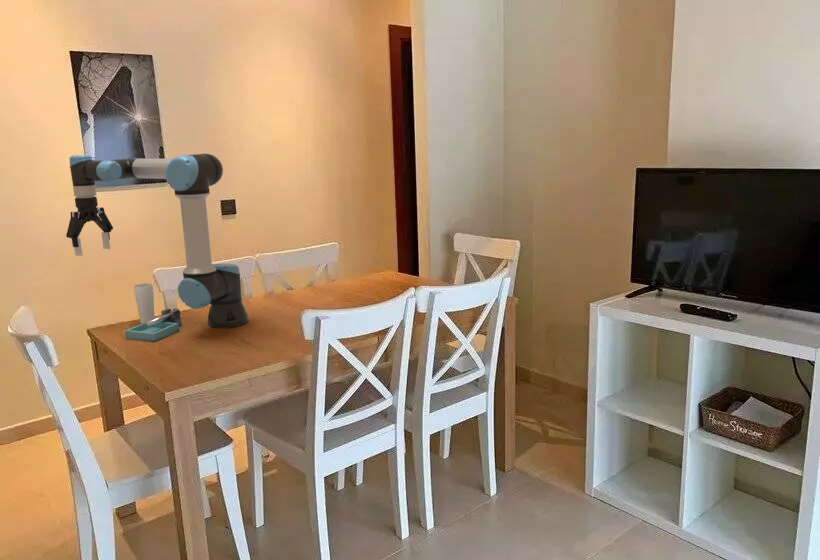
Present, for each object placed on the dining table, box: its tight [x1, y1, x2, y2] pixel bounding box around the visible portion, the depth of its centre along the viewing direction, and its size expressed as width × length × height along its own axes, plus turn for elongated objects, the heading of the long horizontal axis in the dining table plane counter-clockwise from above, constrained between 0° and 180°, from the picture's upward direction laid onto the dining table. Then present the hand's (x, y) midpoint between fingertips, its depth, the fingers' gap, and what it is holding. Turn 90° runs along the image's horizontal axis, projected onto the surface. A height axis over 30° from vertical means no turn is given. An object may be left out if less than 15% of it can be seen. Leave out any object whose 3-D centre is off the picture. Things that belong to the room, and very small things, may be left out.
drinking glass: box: [133, 282, 155, 324], centre depth 249 cm, size 7×7×15 cm
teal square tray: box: [124, 320, 180, 343], centre depth 235 cm, size 13×13×3 cm
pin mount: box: [160, 307, 182, 328], centre depth 244 cm, size 6×4×6 cm, turn 70°
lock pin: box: [145, 308, 180, 327], centre depth 240 cm, size 3×16×3 cm, turn 160°
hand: (93, 252), depth 246 cm, fingers open, 13 cm apart
